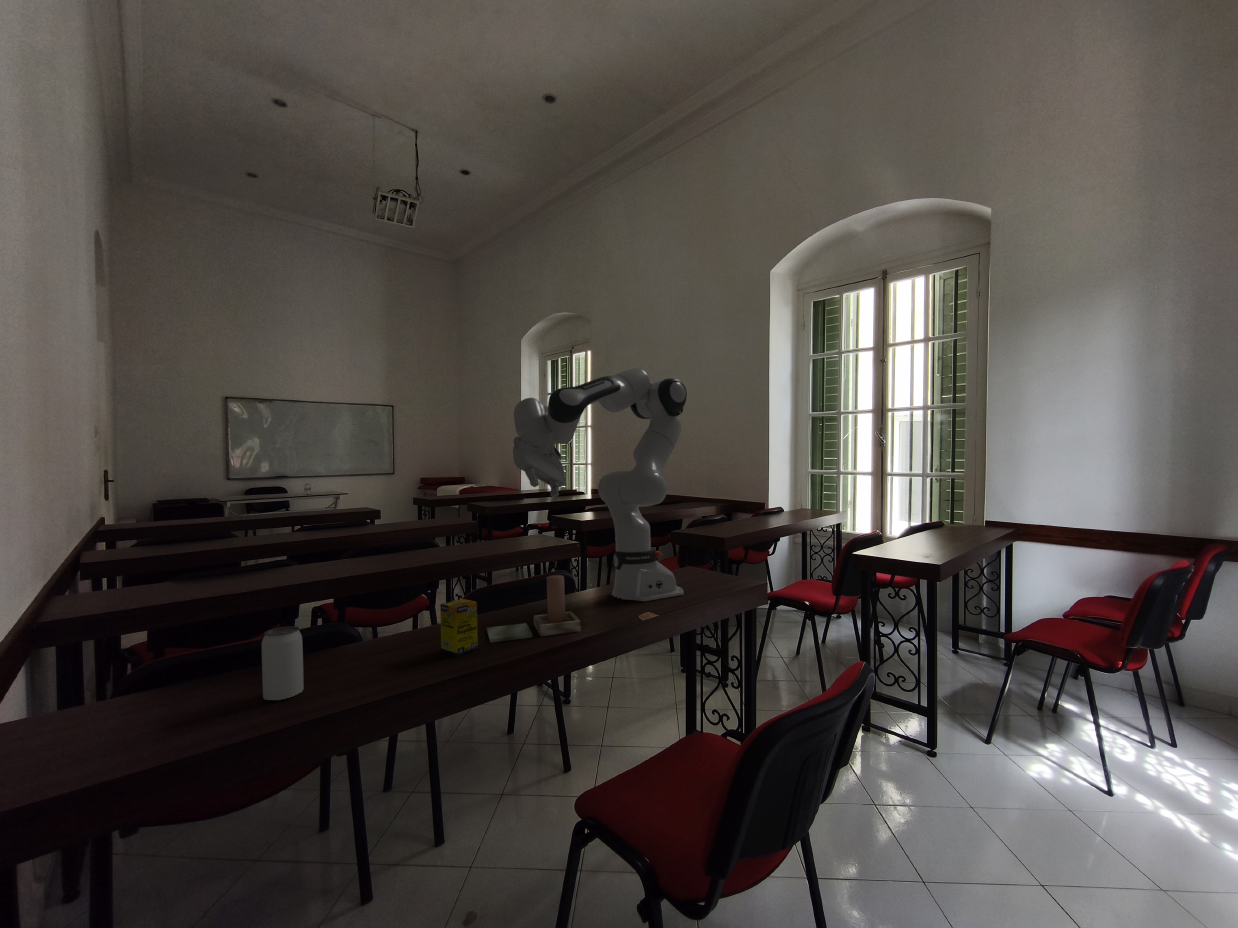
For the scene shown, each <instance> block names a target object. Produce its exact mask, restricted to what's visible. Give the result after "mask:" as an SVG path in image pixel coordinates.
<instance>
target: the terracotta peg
mask: <svg viewBox="0 0 1238 928" xmlns="http://www.w3.org/2000/svg"><path fill="white" fill-rule="evenodd" d="M565 594H566V593H565V576H564V575H560V574H559V575H557V574H556V575H548V576H547V577H546V598H547V599H546V601H547V603H546V604H547V614H548V624H551V623H559V622H565V612H566V600H565V599H566V597H565Z"/></svg>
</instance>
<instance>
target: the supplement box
mask: <svg viewBox="0 0 1238 928" xmlns="http://www.w3.org/2000/svg"><path fill="white" fill-rule="evenodd" d="M477 603H478V601H474V600H469V599H465V598H460V599H456V600H452V601H448V602H442V603H440V606H439V608H440V609H439V611H440V647H441V649H440V650H441V653H445V654H447V655H450V656H451V655H452V656H454V657H458V656H461V655H464V654H466V653H469V652H472V651H476V650H477V651H478V649H479V647H478V645H479V643H478V642H479V641H478V640H479V638H478V604H477Z"/></svg>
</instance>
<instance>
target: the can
mask: <svg viewBox="0 0 1238 928" xmlns="http://www.w3.org/2000/svg"><path fill="white" fill-rule="evenodd" d="M263 635H264V637H263V638H262V640H261V667H262V668H261V670H262V671H261V673H262V674H261V675H262V678H261V679H262V696H263V697H262V698H263V699H264V700H265V701H266V700H282V699H286V698H290V697H293V696H295V695H297V694H299V693H301V694H302V692H303V691H304V654H303V653H304V651H303V650H304V649H303V636H302V634H301V631H300V627H299V626H291V625H290V626H282V627H276V628H272V629H269V630H267V631H265V632H264V633H263ZM299 695H300V694H299Z"/></svg>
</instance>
